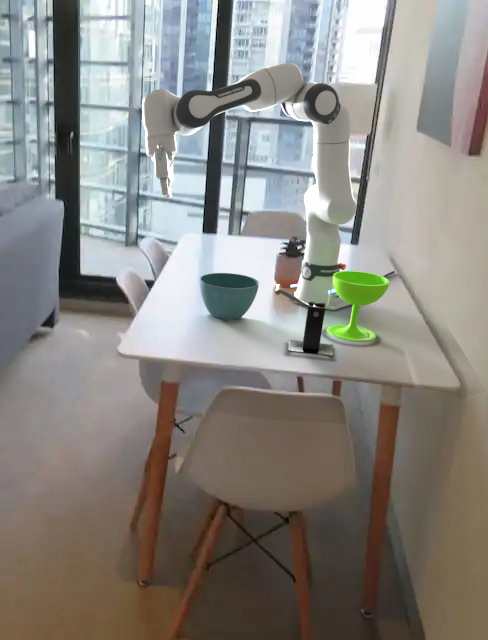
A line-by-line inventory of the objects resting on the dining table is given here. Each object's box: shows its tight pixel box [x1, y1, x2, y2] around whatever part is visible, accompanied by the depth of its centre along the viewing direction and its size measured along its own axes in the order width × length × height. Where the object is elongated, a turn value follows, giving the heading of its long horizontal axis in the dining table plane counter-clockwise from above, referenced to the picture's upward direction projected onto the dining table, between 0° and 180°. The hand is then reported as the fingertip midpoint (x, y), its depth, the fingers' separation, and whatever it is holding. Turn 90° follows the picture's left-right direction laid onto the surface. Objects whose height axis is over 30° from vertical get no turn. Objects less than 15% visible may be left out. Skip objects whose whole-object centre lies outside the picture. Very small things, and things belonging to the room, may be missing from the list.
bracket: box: [287, 302, 334, 357], centre depth 199 cm, size 12×9×14 cm
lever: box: [274, 283, 318, 310], centre depth 197 cm, size 14×6×2 cm, turn 77°
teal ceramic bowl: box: [199, 272, 260, 321], centre depth 224 cm, size 18×18×12 cm
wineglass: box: [326, 270, 391, 342], centre depth 212 cm, size 16×16×18 cm
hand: (166, 196), depth 212 cm, fingers open, 8 cm apart
